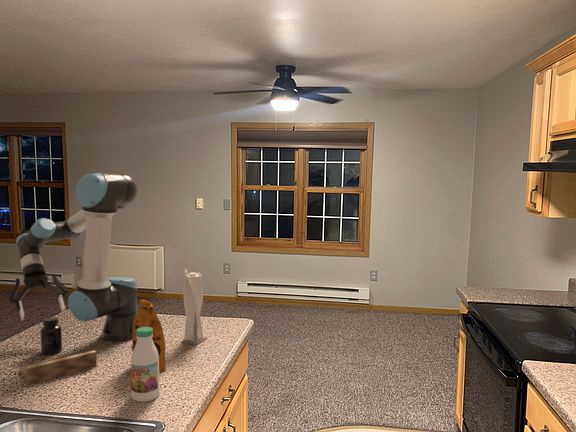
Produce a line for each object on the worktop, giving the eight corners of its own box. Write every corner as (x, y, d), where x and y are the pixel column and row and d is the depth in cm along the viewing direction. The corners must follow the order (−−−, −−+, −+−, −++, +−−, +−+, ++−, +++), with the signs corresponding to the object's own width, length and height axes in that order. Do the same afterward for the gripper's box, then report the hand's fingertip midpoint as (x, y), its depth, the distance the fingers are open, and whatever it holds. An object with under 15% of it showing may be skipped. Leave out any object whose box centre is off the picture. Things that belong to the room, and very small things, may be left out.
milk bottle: (135, 390, 132) (134, 324, 130) (161, 389, 132) (160, 324, 131) (128, 403, 124) (126, 334, 122) (156, 402, 125) (155, 333, 123)
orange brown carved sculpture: (138, 378, 140) (136, 309, 138) (130, 363, 150) (129, 300, 148) (169, 371, 145) (168, 305, 143) (159, 357, 155) (159, 296, 153)
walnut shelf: (85, 355, 157) (84, 341, 156) (96, 366, 148) (96, 351, 147) (20, 371, 144) (19, 356, 143) (28, 384, 135) (28, 368, 134)
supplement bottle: (66, 349, 162) (65, 317, 161) (51, 356, 156) (50, 323, 155) (52, 347, 164) (51, 315, 163) (36, 353, 158) (35, 321, 157)
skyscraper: (178, 341, 171) (177, 270, 168) (190, 335, 178) (189, 266, 176) (196, 345, 167) (195, 272, 165) (208, 338, 175) (207, 268, 172)
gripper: (65, 269, 185) (77, 313, 175) (-6, 277, 168) (3, 326, 158) (69, 258, 180) (81, 303, 170) (-4, 266, 164) (5, 315, 154)
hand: (43, 314), depth 164 cm, fingers open, 13 cm apart
